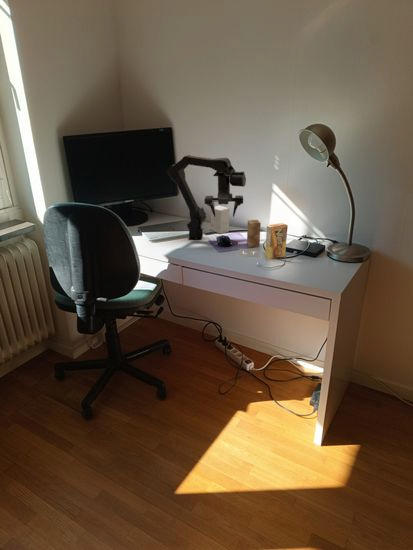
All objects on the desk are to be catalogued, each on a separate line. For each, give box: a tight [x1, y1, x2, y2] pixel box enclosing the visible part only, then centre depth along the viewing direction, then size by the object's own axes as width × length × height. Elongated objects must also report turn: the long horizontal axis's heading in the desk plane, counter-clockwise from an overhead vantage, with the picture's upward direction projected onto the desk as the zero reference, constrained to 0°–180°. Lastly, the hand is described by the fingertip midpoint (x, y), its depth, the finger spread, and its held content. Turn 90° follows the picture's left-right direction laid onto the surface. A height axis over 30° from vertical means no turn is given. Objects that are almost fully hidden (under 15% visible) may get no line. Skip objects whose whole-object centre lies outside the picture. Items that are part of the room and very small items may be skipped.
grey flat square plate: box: [237, 248, 261, 258], centre depth 198 cm, size 10×10×1 cm
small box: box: [210, 204, 230, 234], centre depth 224 cm, size 8×6×13 cm
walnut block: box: [246, 219, 262, 248], centre depth 204 cm, size 5×5×12 cm
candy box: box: [264, 222, 289, 260], centre depth 191 cm, size 9×4×15 cm, turn 116°
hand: (224, 216), depth 207 cm, fingers open, 9 cm apart
